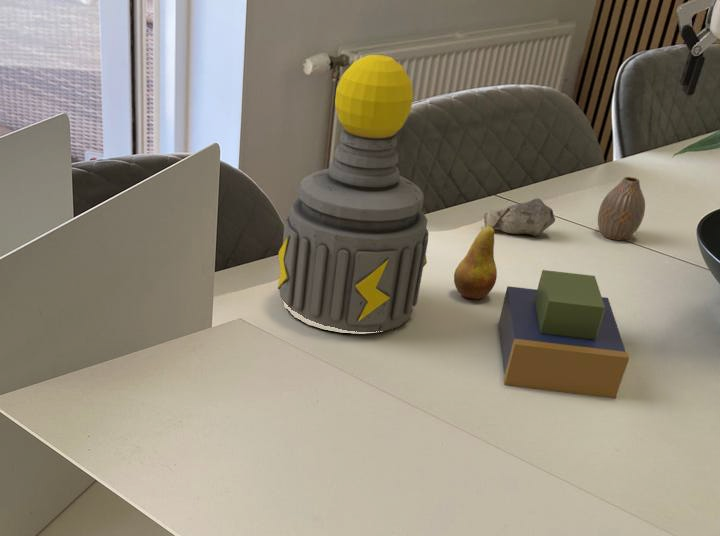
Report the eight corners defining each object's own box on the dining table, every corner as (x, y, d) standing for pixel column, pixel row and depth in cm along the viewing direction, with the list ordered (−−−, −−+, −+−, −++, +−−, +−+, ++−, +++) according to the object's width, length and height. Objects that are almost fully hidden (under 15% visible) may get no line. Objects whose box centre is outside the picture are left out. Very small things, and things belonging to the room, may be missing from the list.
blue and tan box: (597, 335, 132) (609, 296, 129) (615, 398, 119) (629, 357, 115) (497, 323, 133) (506, 285, 130) (504, 384, 120) (514, 344, 116)
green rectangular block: (586, 306, 126) (595, 275, 123) (596, 340, 119) (606, 307, 116) (534, 300, 127) (542, 269, 124) (540, 333, 119) (549, 301, 116)
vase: (586, 236, 160) (602, 179, 155) (601, 225, 165) (617, 169, 159) (628, 247, 158) (646, 189, 152) (641, 235, 162) (659, 179, 156)
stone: (477, 237, 160) (510, 216, 152) (478, 204, 160) (511, 181, 153) (526, 251, 164) (560, 231, 156) (527, 219, 164) (561, 197, 157)
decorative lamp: (295, 341, 125) (322, 74, 105) (262, 281, 139) (280, 35, 119) (435, 335, 129) (487, 76, 109) (390, 278, 142) (428, 38, 123)
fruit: (458, 285, 142) (476, 197, 134) (496, 295, 140) (517, 207, 132) (444, 297, 138) (462, 208, 130) (483, 308, 136) (504, 218, 129)
